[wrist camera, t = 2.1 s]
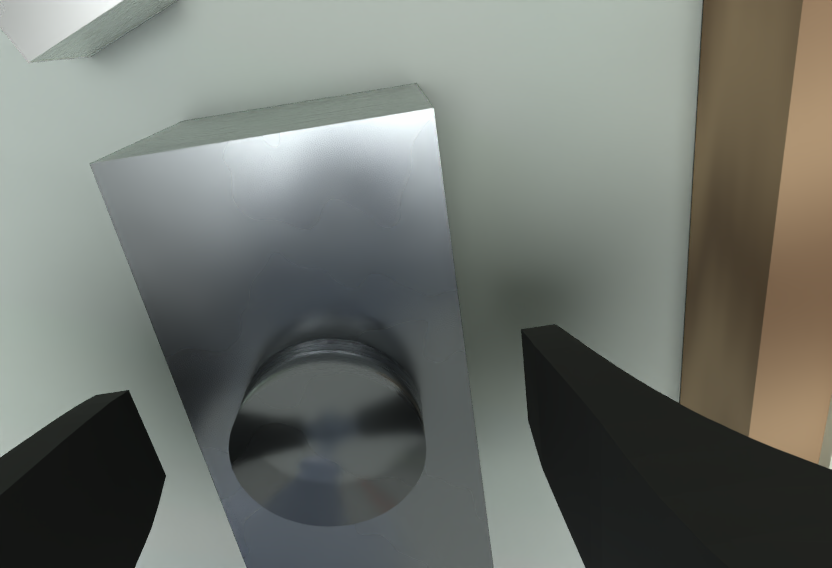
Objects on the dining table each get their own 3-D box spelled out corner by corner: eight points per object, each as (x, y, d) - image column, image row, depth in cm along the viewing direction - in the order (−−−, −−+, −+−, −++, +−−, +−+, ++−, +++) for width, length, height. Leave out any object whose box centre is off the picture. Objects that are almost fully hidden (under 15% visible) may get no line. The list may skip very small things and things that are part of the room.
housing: (466, 447, 16) (505, 628, 11) (294, 474, 16) (258, 667, 11) (415, 82, 12) (440, 117, 7) (185, 120, 12) (53, 180, 7)
